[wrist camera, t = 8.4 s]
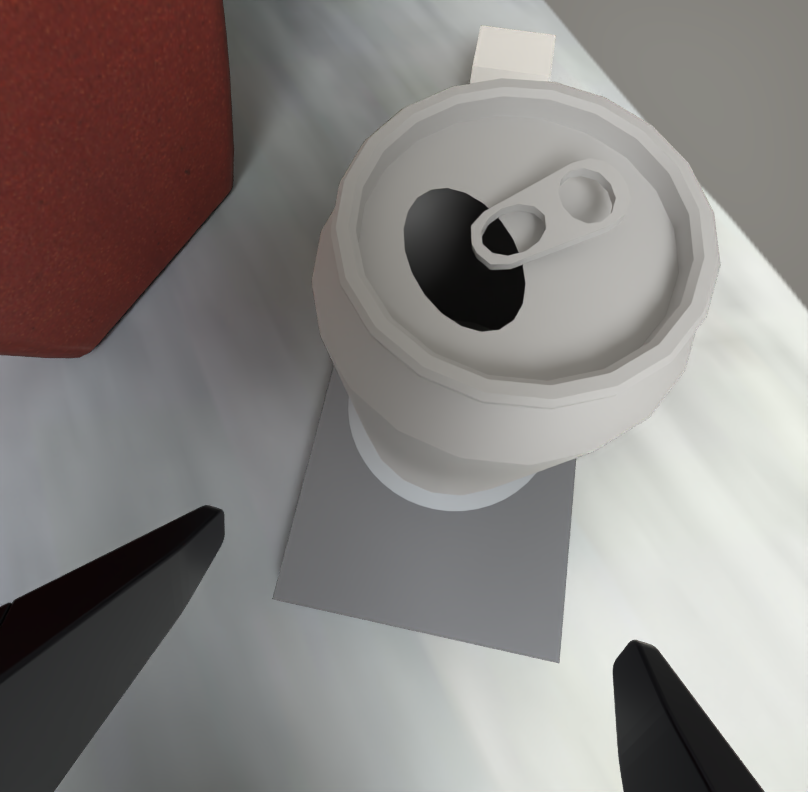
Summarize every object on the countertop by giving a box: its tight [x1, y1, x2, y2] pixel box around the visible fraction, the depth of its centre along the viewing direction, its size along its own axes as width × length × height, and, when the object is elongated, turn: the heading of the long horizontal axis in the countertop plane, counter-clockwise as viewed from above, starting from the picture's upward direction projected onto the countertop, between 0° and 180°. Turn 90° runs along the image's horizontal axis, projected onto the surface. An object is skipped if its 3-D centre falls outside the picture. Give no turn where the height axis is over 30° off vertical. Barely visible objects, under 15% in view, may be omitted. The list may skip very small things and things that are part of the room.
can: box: [311, 78, 720, 496], centre depth 12 cm, size 8×8×12 cm
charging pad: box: [273, 25, 576, 663], centre depth 20 cm, size 30×11×3 cm, turn 169°
